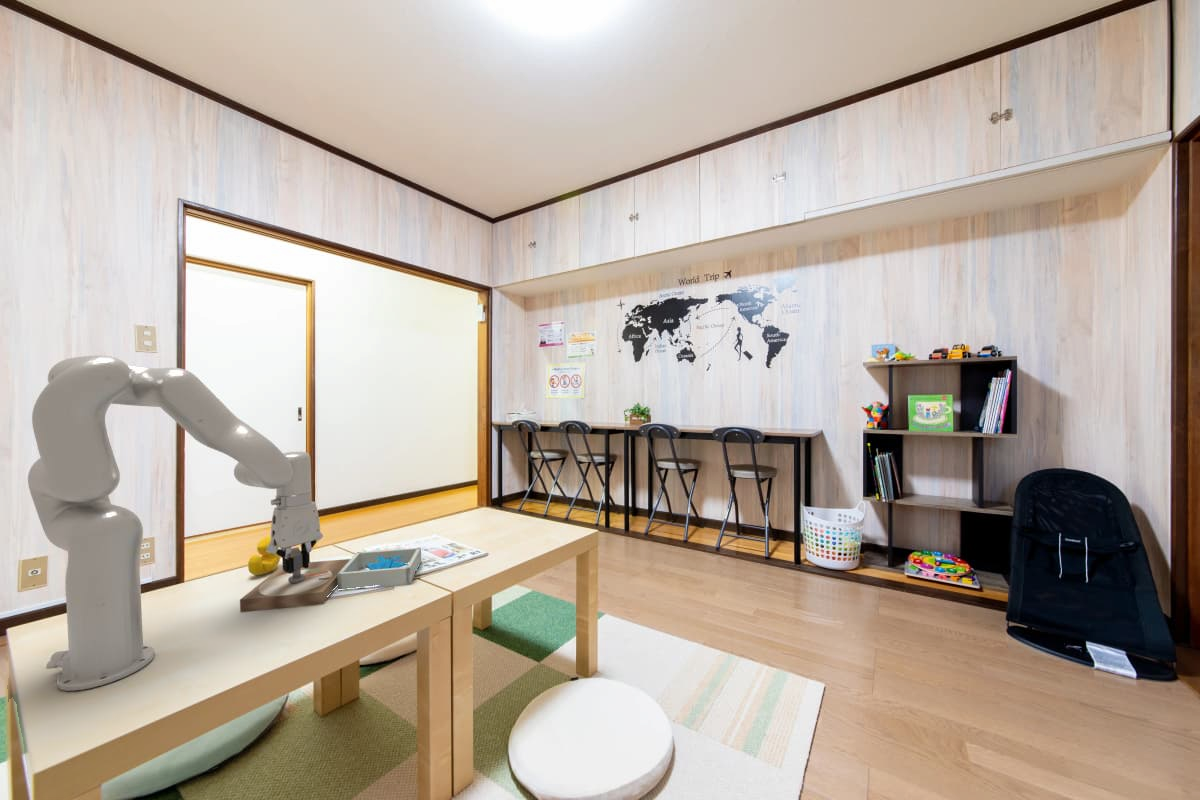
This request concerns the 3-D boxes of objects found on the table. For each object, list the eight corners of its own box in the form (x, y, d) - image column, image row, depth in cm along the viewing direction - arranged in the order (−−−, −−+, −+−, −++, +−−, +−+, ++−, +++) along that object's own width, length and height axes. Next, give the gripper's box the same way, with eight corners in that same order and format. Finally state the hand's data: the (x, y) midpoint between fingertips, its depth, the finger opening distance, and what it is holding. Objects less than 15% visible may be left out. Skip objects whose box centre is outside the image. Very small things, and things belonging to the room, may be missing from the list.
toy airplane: (364, 573, 131) (363, 559, 130) (399, 564, 137) (398, 550, 137) (374, 587, 122) (374, 572, 122) (411, 576, 128) (411, 562, 128)
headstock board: (240, 611, 108) (239, 598, 108) (284, 574, 130) (284, 563, 130) (322, 603, 112) (322, 590, 112) (352, 568, 134) (352, 557, 133)
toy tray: (337, 591, 119) (337, 574, 119) (357, 567, 135) (357, 552, 135) (410, 584, 123) (409, 568, 123) (421, 561, 138) (420, 547, 138)
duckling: (272, 564, 138) (271, 531, 137) (290, 564, 137) (289, 531, 137) (242, 580, 126) (240, 545, 126) (260, 580, 126) (259, 545, 126)
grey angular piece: (290, 586, 114) (289, 557, 114) (286, 577, 119) (285, 549, 119) (330, 576, 120) (329, 548, 120) (325, 568, 125) (324, 541, 125)
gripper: (265, 509, 108) (268, 585, 109) (334, 494, 122) (336, 561, 123) (250, 505, 112) (253, 578, 112) (319, 491, 126) (320, 556, 127)
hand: (296, 569), depth 118 cm, fingers open, 3 cm apart
